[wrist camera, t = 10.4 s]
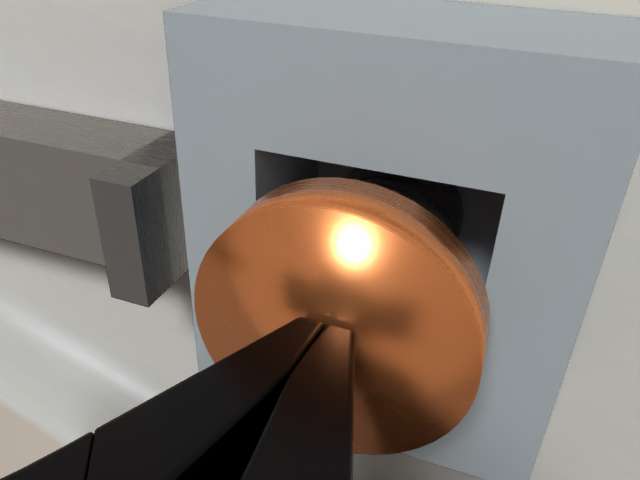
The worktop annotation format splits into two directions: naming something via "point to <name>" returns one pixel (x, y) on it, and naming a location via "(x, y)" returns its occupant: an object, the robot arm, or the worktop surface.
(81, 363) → the worktop surface
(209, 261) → the button
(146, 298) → the rail
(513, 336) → the box
